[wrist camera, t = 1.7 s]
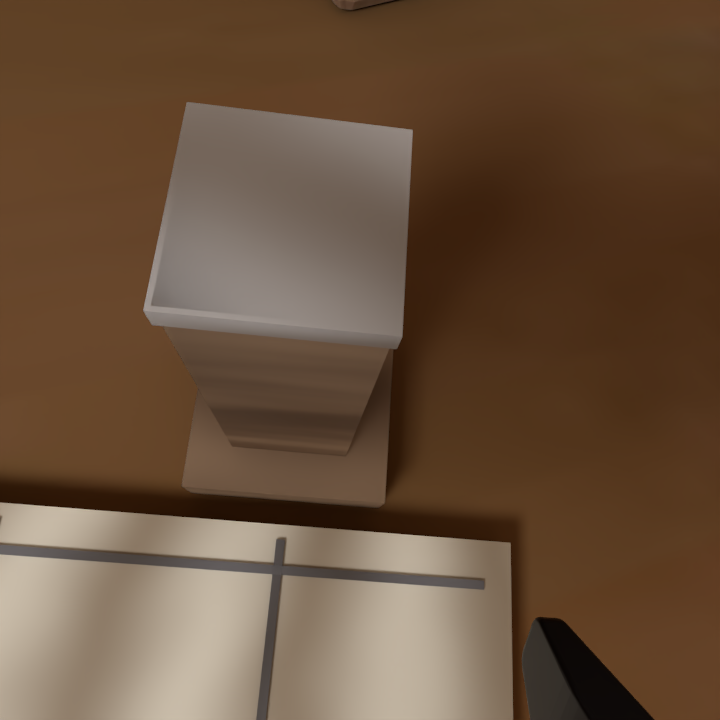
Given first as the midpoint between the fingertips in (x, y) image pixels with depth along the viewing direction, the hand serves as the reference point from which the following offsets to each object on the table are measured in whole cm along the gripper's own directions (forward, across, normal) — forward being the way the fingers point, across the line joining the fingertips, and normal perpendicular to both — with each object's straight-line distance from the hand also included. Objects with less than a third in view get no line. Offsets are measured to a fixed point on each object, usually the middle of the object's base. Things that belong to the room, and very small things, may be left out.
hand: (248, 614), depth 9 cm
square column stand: (+14, 0, +5) cm, 15 cm away
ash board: (+8, +5, +10) cm, 14 cm away
